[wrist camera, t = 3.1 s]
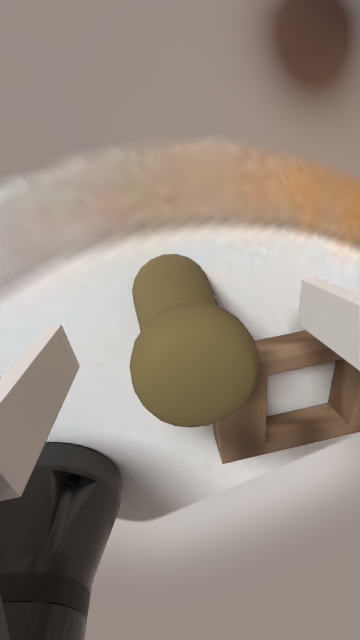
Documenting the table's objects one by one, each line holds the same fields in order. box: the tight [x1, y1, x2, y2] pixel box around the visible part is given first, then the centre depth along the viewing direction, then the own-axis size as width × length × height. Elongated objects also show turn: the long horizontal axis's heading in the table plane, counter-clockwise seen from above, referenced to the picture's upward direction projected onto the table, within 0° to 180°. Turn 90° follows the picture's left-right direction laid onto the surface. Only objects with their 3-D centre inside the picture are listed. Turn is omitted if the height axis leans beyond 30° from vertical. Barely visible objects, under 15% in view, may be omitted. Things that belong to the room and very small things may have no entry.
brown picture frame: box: [213, 331, 360, 464], centre depth 22 cm, size 18×12×3 cm, turn 100°
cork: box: [130, 254, 259, 427], centre depth 13 cm, size 6×6×11 cm
